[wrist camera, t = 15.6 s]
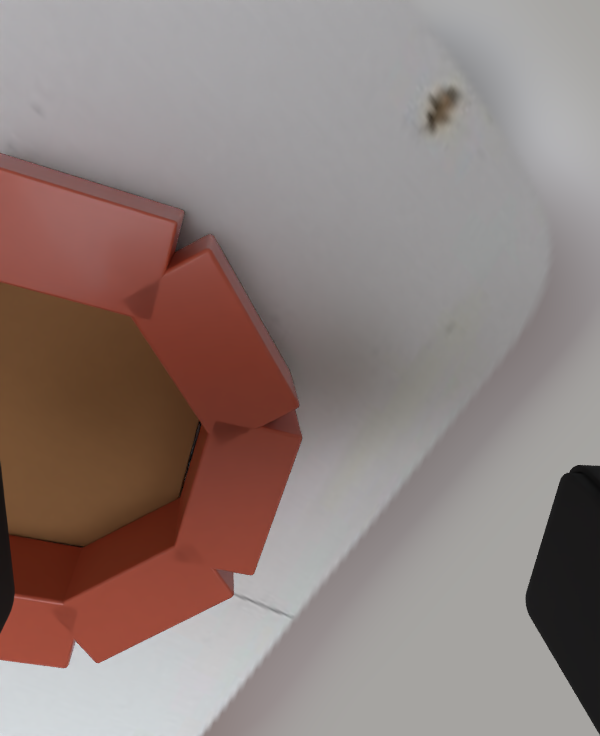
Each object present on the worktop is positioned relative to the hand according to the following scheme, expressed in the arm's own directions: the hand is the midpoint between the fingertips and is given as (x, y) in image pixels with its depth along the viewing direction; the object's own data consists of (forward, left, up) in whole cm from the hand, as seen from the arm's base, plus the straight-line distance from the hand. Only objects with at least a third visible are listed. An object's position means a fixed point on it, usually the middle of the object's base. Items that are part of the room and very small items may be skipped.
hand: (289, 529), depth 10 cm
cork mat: (+1, -5, -5) cm, 7 cm away
